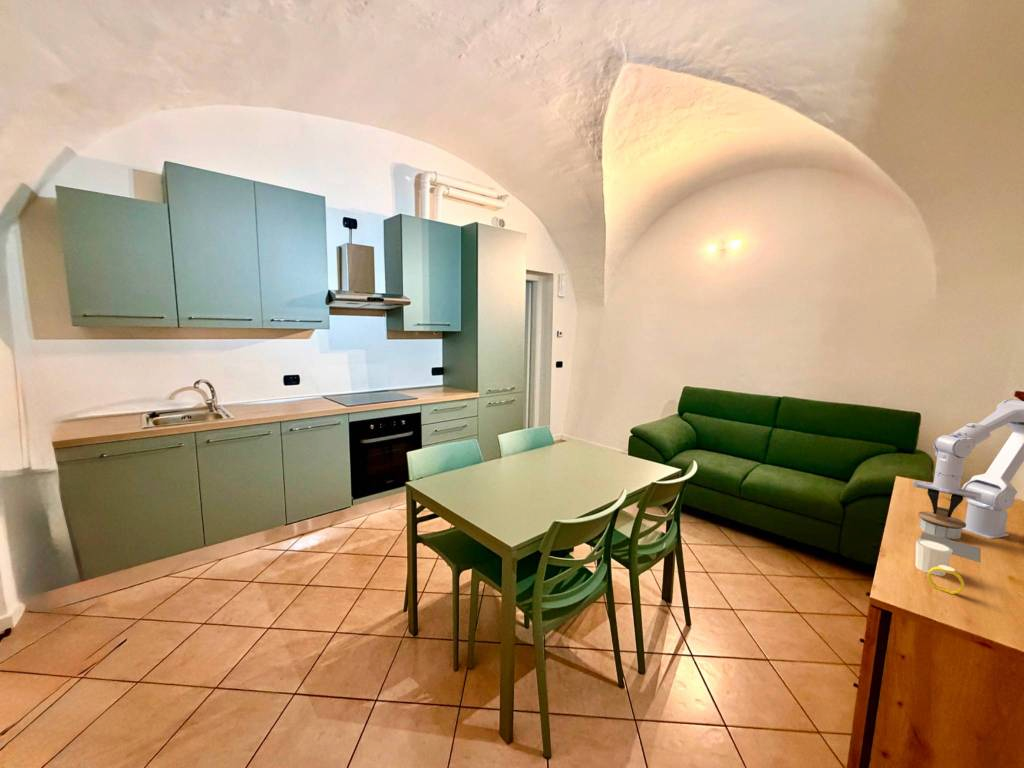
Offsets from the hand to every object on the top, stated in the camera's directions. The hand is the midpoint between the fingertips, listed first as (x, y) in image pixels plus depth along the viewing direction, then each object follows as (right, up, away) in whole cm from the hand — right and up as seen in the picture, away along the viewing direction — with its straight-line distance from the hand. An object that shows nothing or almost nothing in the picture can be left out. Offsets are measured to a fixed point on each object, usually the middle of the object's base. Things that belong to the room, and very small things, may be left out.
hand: (941, 514), depth 127 cm
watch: (-31, -9, -29) cm, 44 cm away
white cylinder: (-25, -8, -21) cm, 34 cm away
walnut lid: (0, -2, 0) cm, 2 cm away
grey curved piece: (0, -6, +1) cm, 6 cm away
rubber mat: (-7, -7, -8) cm, 13 cm away
